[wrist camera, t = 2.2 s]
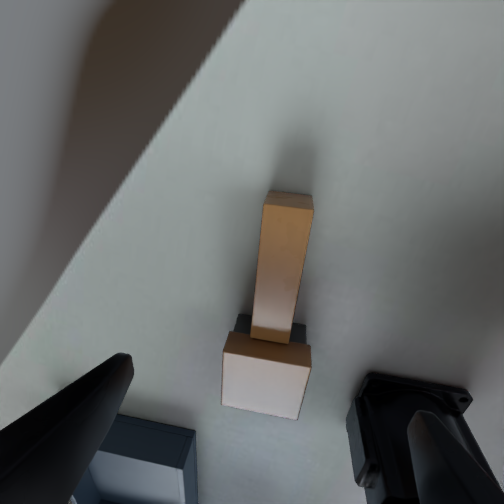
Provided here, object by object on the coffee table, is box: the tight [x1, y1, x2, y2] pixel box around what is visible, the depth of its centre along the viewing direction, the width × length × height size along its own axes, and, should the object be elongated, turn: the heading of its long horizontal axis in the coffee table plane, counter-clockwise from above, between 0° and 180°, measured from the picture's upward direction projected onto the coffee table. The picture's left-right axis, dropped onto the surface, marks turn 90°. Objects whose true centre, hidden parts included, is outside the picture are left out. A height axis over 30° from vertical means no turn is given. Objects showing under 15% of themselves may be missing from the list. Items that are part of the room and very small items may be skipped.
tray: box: [70, 414, 198, 504], centre depth 29 cm, size 13×19×3 cm
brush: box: [221, 191, 314, 420], centre depth 15 cm, size 13×5×3 cm, turn 175°
